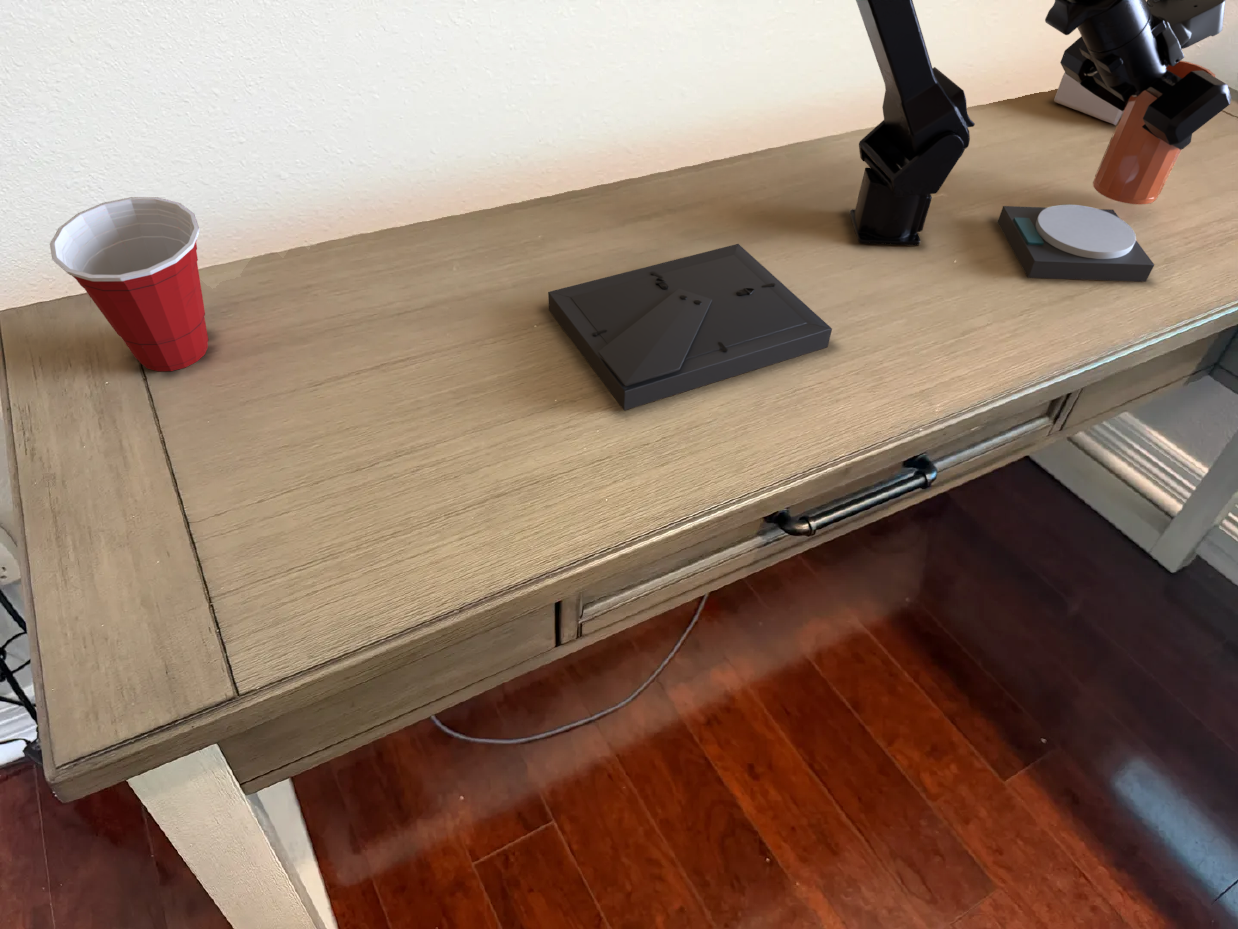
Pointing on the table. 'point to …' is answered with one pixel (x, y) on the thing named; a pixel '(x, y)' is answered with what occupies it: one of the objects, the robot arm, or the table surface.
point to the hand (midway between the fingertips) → (1162, 130)
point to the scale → (1074, 243)
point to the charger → (1085, 101)
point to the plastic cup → (140, 275)
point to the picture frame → (685, 324)
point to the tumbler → (1138, 152)
